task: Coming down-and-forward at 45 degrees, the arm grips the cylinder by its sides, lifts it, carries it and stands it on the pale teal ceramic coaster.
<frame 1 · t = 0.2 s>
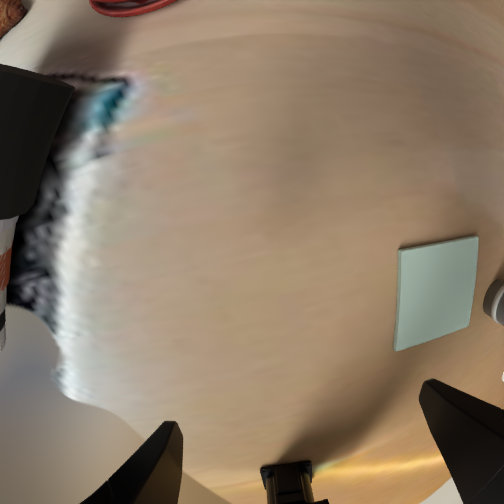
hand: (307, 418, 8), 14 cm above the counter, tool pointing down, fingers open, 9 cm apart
cylinder: (494, 297, 24), on the counter
striped bottle: (8, 244, 21), on the counter
coaster: (438, 292, 23), on the counter
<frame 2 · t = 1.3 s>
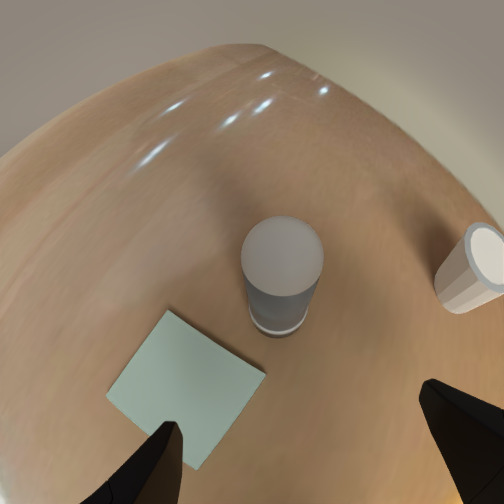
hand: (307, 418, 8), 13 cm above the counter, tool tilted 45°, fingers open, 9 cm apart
cylinder: (277, 313, 24), on the counter
coaster: (181, 390, 21), on the counter
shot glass: (454, 288, 24), on the counter
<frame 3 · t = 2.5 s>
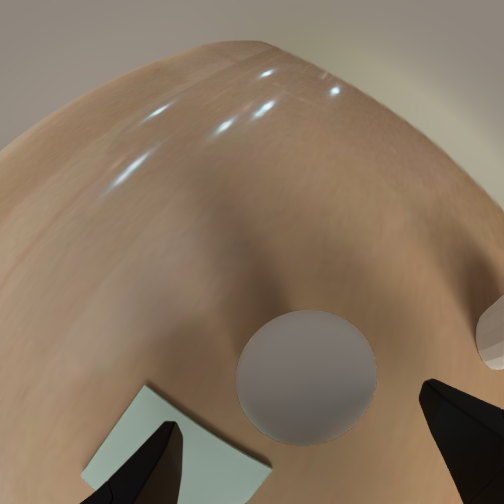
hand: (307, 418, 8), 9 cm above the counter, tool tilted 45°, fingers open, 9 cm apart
cylinder: (287, 391, 17), on the counter
coaster: (167, 479, 14), on the counter
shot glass: (495, 338, 17), on the counter
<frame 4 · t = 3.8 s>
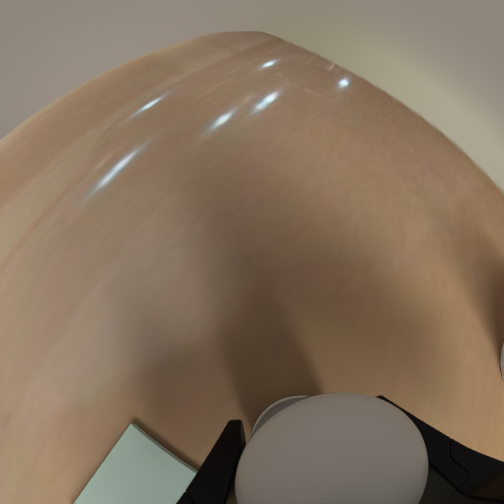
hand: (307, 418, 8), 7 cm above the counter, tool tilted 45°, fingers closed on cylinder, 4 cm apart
cylinder: (295, 434, 13), on the counter, touching gripper
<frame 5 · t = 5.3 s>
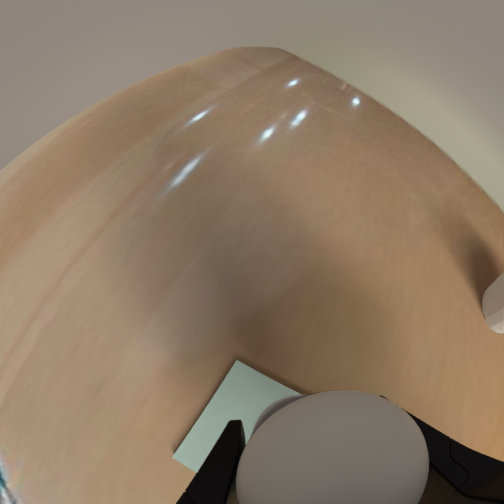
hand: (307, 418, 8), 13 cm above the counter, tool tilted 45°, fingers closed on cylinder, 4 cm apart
cylinder: (295, 433, 13), point 7 cm above the counter, touching gripper
coaster: (259, 442, 19), on the counter
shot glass: (497, 309, 22), on the counter
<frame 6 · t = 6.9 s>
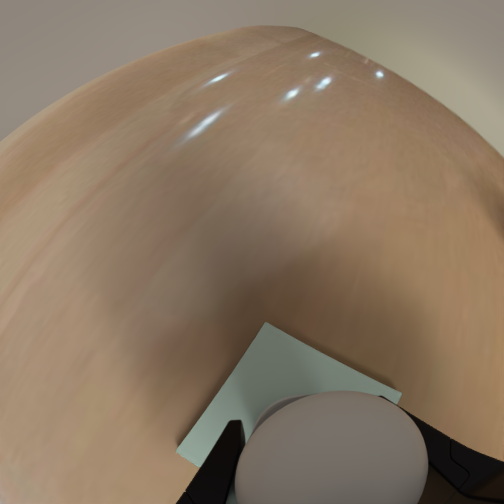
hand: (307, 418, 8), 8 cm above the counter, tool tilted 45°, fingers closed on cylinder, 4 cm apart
cylinder: (295, 433, 13), point 1 cm above the counter, touching gripper
coaster: (292, 431, 14), on the counter
when the fingers open (8 cm above the counter, at t = 6.9 s): cylinder stays where it is, resting on coaster.
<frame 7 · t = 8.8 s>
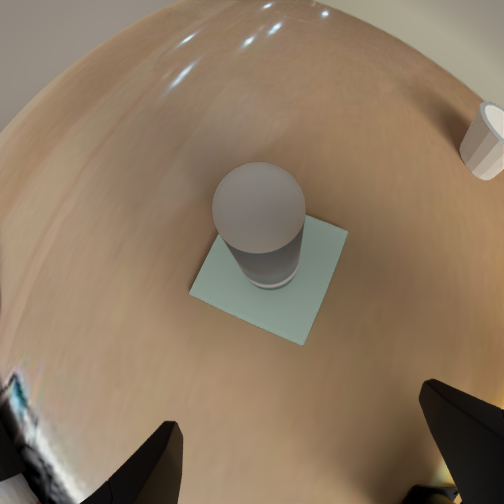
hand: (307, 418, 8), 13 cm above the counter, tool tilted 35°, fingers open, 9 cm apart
cylinder: (270, 263, 23), point 1 cm above the counter, touching coaster
coaster: (270, 264, 24), on the counter
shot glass: (476, 160, 25), on the counter
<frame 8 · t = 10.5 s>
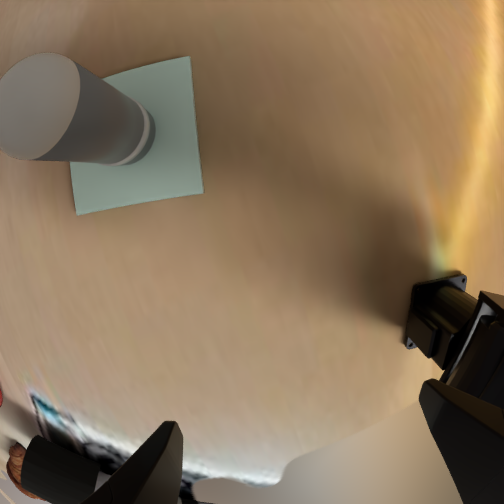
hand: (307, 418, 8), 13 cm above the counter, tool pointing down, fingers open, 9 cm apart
pastry: (39, 469, 31), on the counter
cylinder: (126, 134, 17), point 1 cm above the counter, touching coaster
striped bottle: (144, 484, 29), on the counter
coaster: (128, 135, 18), on the counter
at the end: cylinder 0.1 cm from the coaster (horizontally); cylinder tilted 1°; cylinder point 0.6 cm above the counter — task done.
